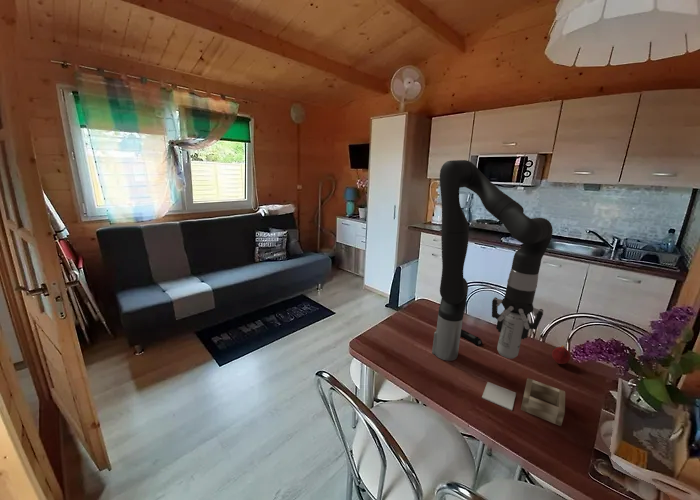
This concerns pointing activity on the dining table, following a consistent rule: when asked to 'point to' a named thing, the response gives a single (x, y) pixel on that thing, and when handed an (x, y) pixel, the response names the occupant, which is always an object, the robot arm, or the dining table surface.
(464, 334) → the electric trimmer
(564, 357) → the onion
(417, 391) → the dining table surface
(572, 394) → the dining table surface
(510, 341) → the energy drink can
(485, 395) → the grey pad
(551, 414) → the pocket holder
